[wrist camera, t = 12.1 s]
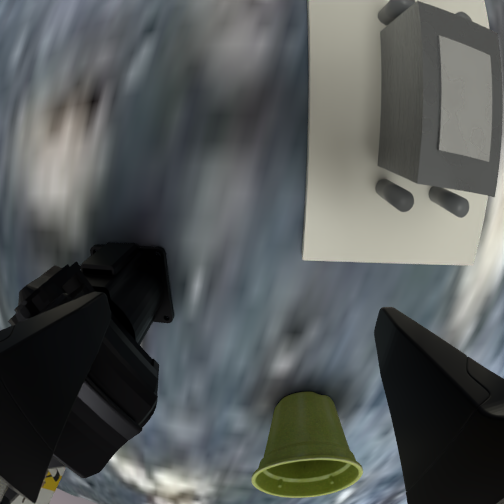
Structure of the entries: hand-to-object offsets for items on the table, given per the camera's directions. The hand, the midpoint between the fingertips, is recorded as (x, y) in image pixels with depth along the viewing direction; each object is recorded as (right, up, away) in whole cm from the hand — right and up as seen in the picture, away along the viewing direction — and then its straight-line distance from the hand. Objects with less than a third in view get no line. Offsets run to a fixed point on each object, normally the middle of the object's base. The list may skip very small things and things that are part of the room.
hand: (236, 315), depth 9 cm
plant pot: (+6, -14, +19) cm, 24 cm away
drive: (+11, +11, +6) cm, 17 cm away
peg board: (+11, +12, +7) cm, 18 cm away
